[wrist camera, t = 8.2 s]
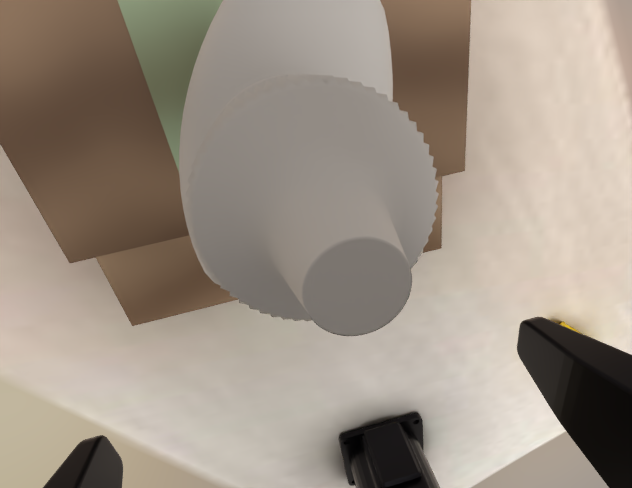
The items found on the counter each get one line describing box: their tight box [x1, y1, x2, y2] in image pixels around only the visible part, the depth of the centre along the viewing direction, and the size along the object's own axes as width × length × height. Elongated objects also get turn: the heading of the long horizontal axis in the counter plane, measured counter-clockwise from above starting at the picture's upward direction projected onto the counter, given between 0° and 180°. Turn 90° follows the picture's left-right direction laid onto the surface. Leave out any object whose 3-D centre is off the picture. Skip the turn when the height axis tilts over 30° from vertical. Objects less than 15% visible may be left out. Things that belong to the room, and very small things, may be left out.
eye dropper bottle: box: [179, 0, 439, 336], centre depth 8 cm, size 4×6×12 cm
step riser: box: [0, 0, 471, 326], centre depth 16 cm, size 14×16×4 cm
